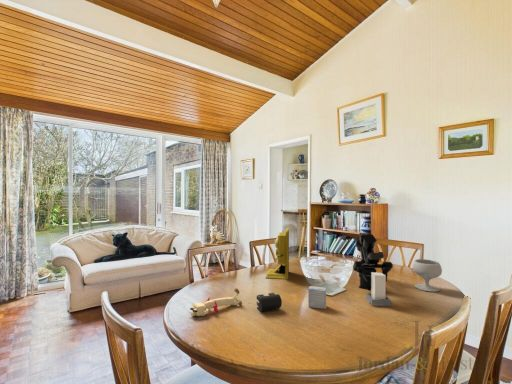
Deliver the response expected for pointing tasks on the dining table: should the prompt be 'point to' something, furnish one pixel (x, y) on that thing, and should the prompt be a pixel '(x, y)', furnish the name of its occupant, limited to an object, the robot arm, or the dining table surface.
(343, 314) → the dining table surface
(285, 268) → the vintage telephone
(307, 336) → the dining table surface
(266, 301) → the end cap
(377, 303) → the dock tray
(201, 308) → the cat figure
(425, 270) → the chalice
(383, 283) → the block
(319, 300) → the medicine box
